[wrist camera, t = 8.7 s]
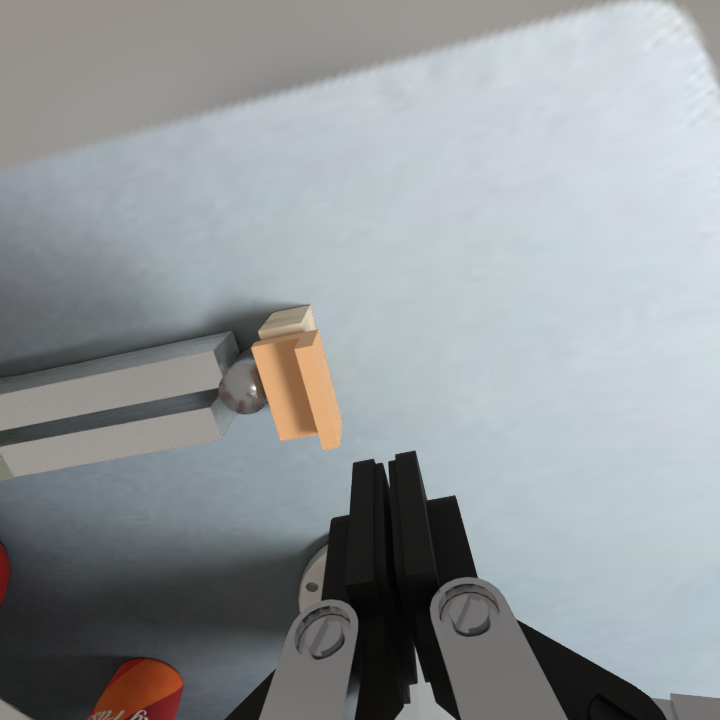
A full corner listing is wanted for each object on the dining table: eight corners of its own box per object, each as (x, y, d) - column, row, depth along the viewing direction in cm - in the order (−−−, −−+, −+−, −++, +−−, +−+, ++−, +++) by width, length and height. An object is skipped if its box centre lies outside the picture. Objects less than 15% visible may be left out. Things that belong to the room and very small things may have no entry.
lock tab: (342, 422, 24) (339, 447, 21) (283, 433, 24) (274, 458, 22) (318, 329, 22) (312, 345, 20) (254, 341, 22) (241, 359, 20)
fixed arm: (240, 409, 28) (222, 440, 25) (5, 453, 30) (-42, 487, 26) (229, 379, 27) (209, 406, 24) (-11, 425, 29) (-61, 457, 25)
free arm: (285, 383, 27) (274, 409, 24) (-6, 439, 29) (-53, 471, 26) (267, 322, 26) (252, 341, 22) (-37, 386, 28) (-90, 412, 24)
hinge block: (334, 399, 28) (329, 428, 24) (300, 405, 28) (290, 435, 24) (310, 304, 25) (301, 322, 22) (272, 312, 26) (258, 331, 22)
